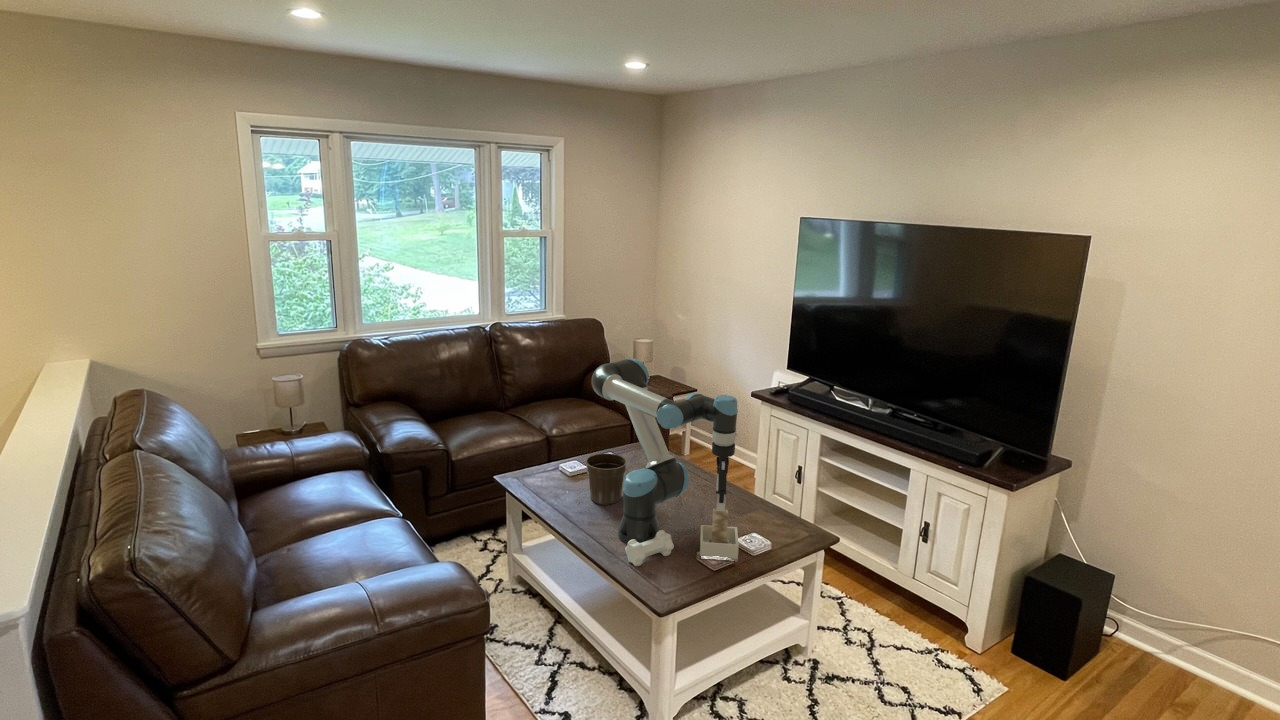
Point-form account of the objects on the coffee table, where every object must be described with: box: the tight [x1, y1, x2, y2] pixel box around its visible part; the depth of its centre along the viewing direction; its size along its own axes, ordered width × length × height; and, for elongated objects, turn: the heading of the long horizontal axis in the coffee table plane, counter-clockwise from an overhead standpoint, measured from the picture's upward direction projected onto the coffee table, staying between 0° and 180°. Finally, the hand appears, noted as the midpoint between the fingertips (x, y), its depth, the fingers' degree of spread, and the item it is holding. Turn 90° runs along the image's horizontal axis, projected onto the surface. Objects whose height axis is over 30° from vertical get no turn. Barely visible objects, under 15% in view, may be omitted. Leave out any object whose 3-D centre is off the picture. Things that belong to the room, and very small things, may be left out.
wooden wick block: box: [711, 507, 729, 544], centre depth 228 cm, size 5×3×14 cm, turn 85°
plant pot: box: [585, 452, 628, 506], centre depth 266 cm, size 16×16×16 cm
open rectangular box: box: [699, 524, 740, 563], centre depth 229 cm, size 13×13×6 cm
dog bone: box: [624, 529, 675, 567], centre depth 224 cm, size 15×9×8 cm, turn 124°
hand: (720, 501), depth 226 cm, fingers open, 13 cm apart
